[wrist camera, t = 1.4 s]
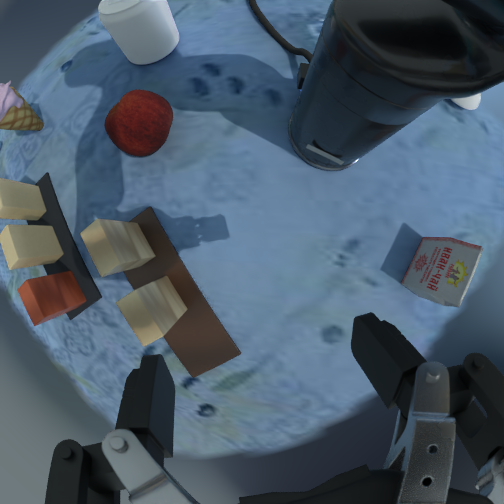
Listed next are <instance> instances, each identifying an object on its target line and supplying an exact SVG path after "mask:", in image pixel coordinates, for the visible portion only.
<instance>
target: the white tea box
mask: <svg viewBox="0 0 504 504" xmlns="http://www.w3.org/2000/svg"><path fill="white" fill-rule="evenodd" d="M482 251H483V248H482V246H477V245H473V244H470V243H466V242H463V241H460V240H457V239H454V238H445V237H423V238H422V240H421V243H420V245H419V247H418V249H417V251H416V254H415V256H414V258H413V260H412V262H411V264H410V266H409V268H408V270H407V272H406V274H405V276H404V278H403V280H402V282H401V284H402V285H404V286H405V287H406V288H408V289H409V290H411V291H412V292H413V293H415V294H416V295H418V296H419V297H422V298H425V299H427V300H430V301H433V302H435V303H438V304H441V305H443V306H454V307H460V305H461V302H462V300H463V298H464V296H465V294H466V291H467V289H468V287H469V284H470V282H471V280H472V277H473V275H474V272H475V270H476V267H477V264H478V262H479V259H480V256H481V253H482Z"/></svg>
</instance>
